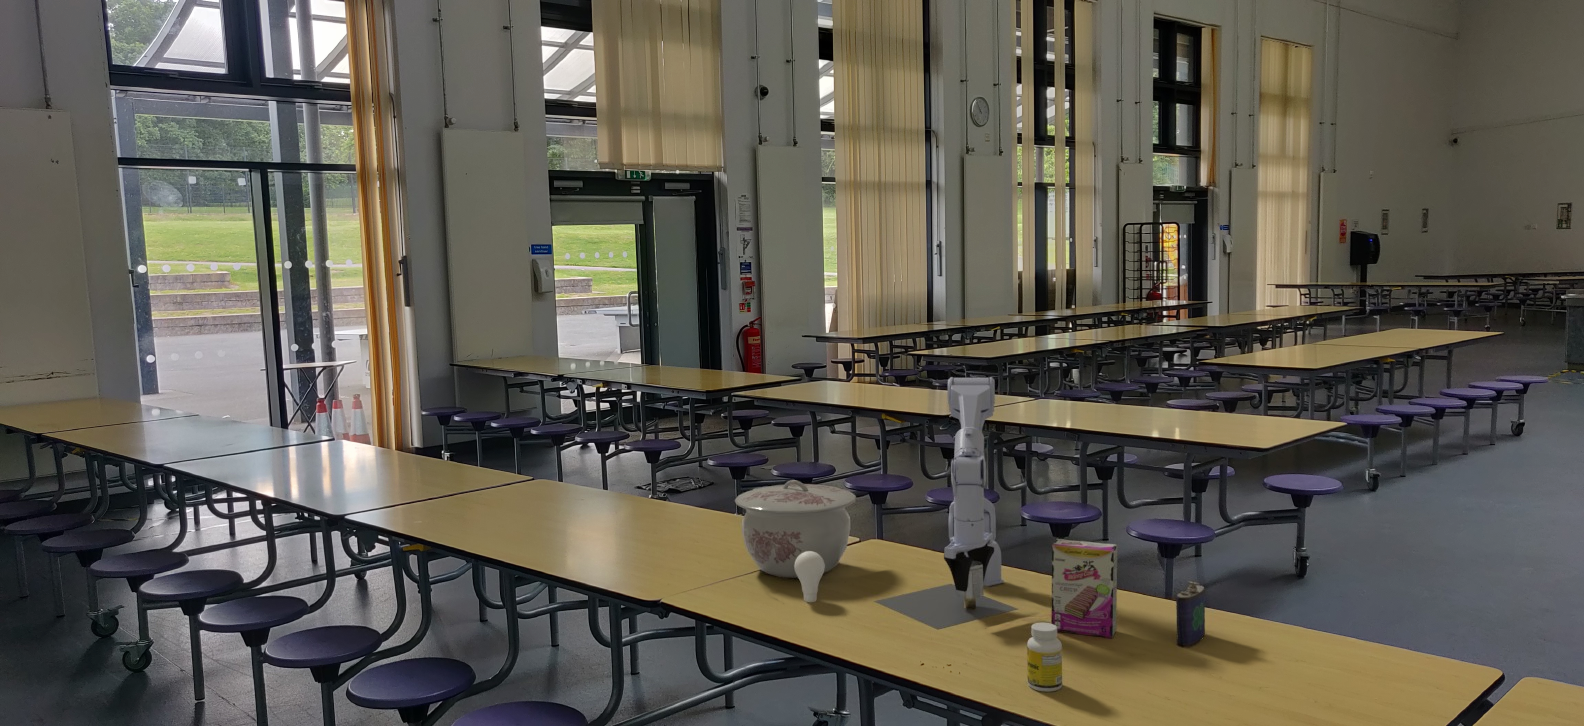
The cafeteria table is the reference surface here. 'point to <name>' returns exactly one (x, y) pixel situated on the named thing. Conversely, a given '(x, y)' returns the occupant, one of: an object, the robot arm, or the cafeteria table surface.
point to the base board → (942, 607)
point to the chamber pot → (795, 525)
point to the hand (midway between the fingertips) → (969, 586)
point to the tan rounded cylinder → (969, 603)
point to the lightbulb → (809, 573)
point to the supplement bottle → (1044, 658)
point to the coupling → (973, 582)
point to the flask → (1190, 615)
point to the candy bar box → (1084, 587)
